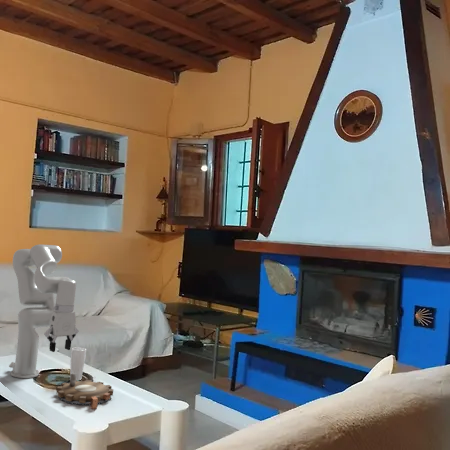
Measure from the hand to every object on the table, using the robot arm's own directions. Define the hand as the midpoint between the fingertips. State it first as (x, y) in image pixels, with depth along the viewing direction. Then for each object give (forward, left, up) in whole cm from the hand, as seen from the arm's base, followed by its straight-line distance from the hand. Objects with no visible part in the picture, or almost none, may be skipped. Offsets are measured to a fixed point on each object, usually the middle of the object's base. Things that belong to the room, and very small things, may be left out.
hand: (59, 349), depth 222 cm
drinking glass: (-6, +23, -20) cm, 31 cm away
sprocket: (+10, +8, -18) cm, 22 cm away
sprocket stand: (+10, +8, -20) cm, 23 cm away
